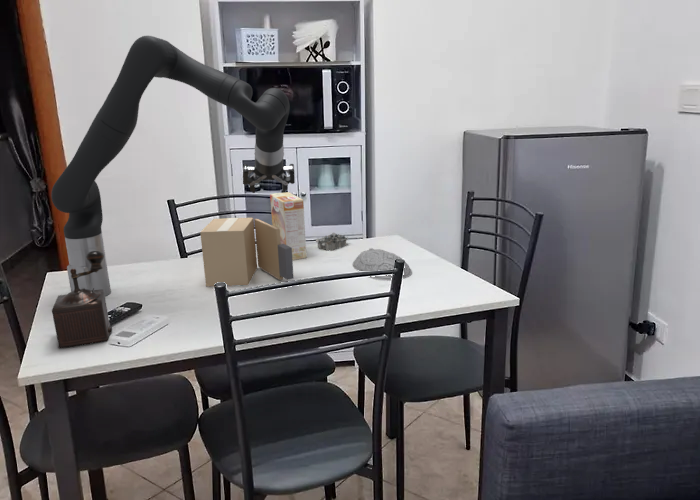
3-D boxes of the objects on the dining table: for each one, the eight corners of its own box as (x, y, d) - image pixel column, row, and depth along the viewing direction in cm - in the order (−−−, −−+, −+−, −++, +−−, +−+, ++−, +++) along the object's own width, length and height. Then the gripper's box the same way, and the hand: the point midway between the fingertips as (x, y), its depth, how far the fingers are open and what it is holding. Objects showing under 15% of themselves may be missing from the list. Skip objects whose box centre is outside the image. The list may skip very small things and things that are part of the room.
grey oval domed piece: (381, 284, 163) (382, 260, 162) (339, 266, 185) (339, 245, 183) (426, 279, 171) (427, 256, 170) (380, 262, 192) (381, 242, 191)
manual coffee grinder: (111, 341, 133) (99, 265, 128) (57, 349, 130) (43, 272, 125) (114, 316, 147) (103, 247, 142) (66, 323, 144) (53, 253, 139)
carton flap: (258, 266, 182) (254, 219, 177) (264, 265, 183) (260, 218, 178) (287, 284, 164) (284, 233, 160) (293, 283, 165) (290, 231, 161)
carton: (218, 268, 182) (213, 218, 177) (257, 267, 182) (253, 217, 177) (206, 286, 167) (200, 231, 162) (248, 285, 166) (243, 230, 162)
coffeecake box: (273, 250, 201) (269, 193, 195) (293, 247, 203) (289, 191, 198) (286, 261, 187) (282, 201, 182) (307, 258, 190) (304, 199, 185)
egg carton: (330, 252, 197) (329, 240, 196) (313, 249, 201) (313, 237, 200) (350, 245, 204) (350, 233, 203) (334, 241, 209) (333, 230, 208)
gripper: (295, 142, 157) (292, 179, 171) (241, 142, 155) (243, 179, 169) (297, 164, 153) (294, 200, 167) (241, 165, 151) (243, 201, 165)
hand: (268, 190), depth 168 cm, fingers open, 8 cm apart
